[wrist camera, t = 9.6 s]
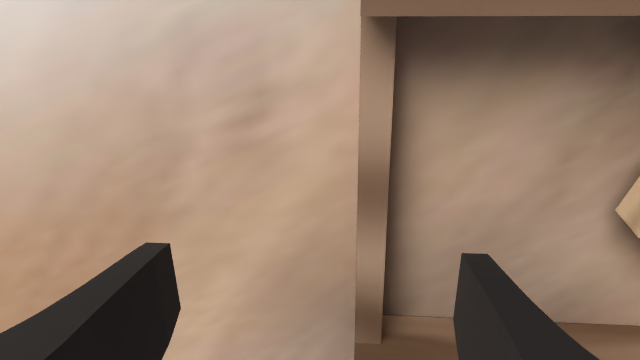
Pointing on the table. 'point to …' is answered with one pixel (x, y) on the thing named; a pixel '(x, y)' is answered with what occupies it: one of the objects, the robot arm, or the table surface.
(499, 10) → the rack
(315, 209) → the table surface
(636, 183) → the offcut upper
